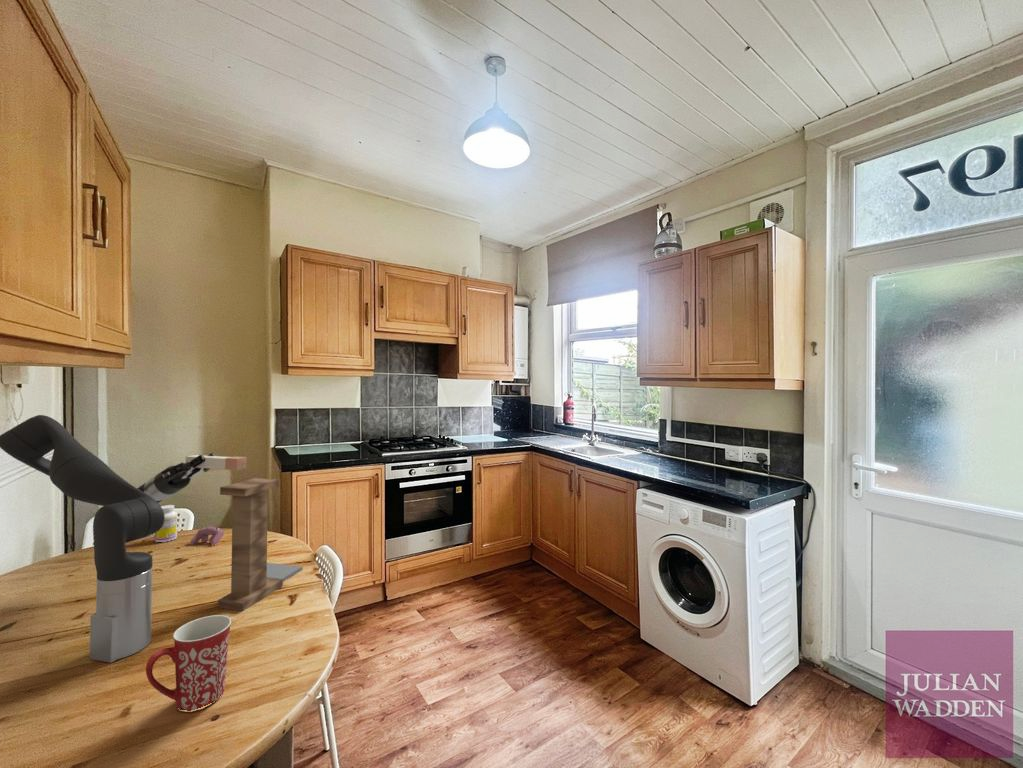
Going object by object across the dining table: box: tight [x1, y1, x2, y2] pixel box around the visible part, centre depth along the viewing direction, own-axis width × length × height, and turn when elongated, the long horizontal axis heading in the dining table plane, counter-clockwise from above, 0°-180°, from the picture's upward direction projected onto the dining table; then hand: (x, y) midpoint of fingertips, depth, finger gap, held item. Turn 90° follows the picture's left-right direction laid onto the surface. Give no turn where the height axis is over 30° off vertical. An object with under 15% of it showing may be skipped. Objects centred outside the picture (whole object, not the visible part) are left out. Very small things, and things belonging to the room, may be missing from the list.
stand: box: [217, 477, 284, 612], centre depth 117 cm, size 14×9×32 cm, turn 168°
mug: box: [145, 614, 232, 711], centre depth 77 cm, size 13×9×14 cm
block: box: [185, 454, 248, 471], centre depth 120 cm, size 3×18×3 cm, turn 78°
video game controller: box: [189, 526, 224, 546], centre depth 156 cm, size 10×5×7 cm, turn 85°
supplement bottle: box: [154, 504, 178, 543], centre depth 159 cm, size 7×7×13 cm
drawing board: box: [267, 562, 304, 582], centre depth 131 cm, size 9×16×1 cm, turn 78°
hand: (208, 456), depth 120 cm, fingers closed on block, 3 cm apart
